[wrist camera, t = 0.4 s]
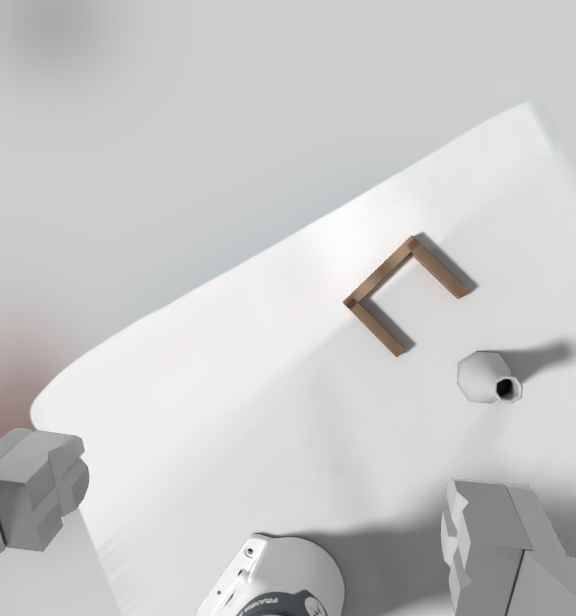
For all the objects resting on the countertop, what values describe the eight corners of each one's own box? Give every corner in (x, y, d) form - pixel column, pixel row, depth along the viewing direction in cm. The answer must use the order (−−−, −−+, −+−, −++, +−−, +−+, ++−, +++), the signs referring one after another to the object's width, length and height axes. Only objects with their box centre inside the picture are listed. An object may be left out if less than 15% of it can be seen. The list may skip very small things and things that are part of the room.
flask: (503, 344, 59) (532, 350, 50) (518, 396, 59) (550, 413, 49) (449, 357, 61) (467, 366, 51) (463, 408, 60) (484, 427, 50)
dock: (395, 356, 62) (396, 357, 60) (343, 302, 63) (342, 302, 61) (465, 291, 60) (468, 290, 58) (410, 237, 61) (411, 235, 60)
